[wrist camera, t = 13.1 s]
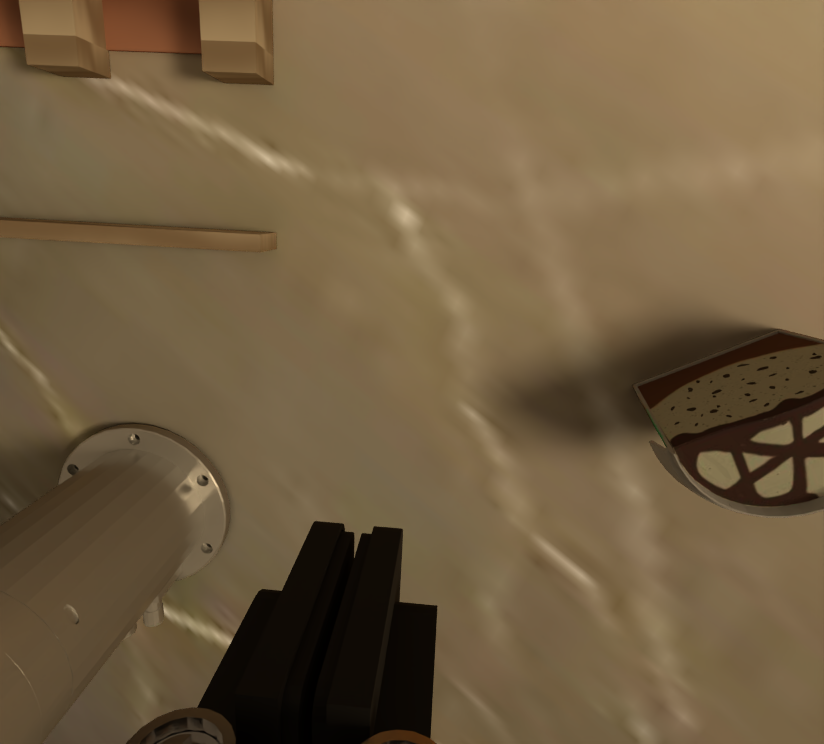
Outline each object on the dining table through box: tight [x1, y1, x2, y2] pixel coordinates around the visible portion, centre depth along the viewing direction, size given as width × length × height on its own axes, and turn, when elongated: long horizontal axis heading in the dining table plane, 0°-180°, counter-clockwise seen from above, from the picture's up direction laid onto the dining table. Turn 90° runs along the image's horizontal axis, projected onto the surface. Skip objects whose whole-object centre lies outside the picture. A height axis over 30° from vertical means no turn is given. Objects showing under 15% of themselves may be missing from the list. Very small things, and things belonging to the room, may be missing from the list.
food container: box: [632, 329, 824, 518], centre depth 32 cm, size 12×6×10 cm, turn 115°
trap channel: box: [0, 0, 277, 252], centre depth 33 cm, size 18×26×4 cm
